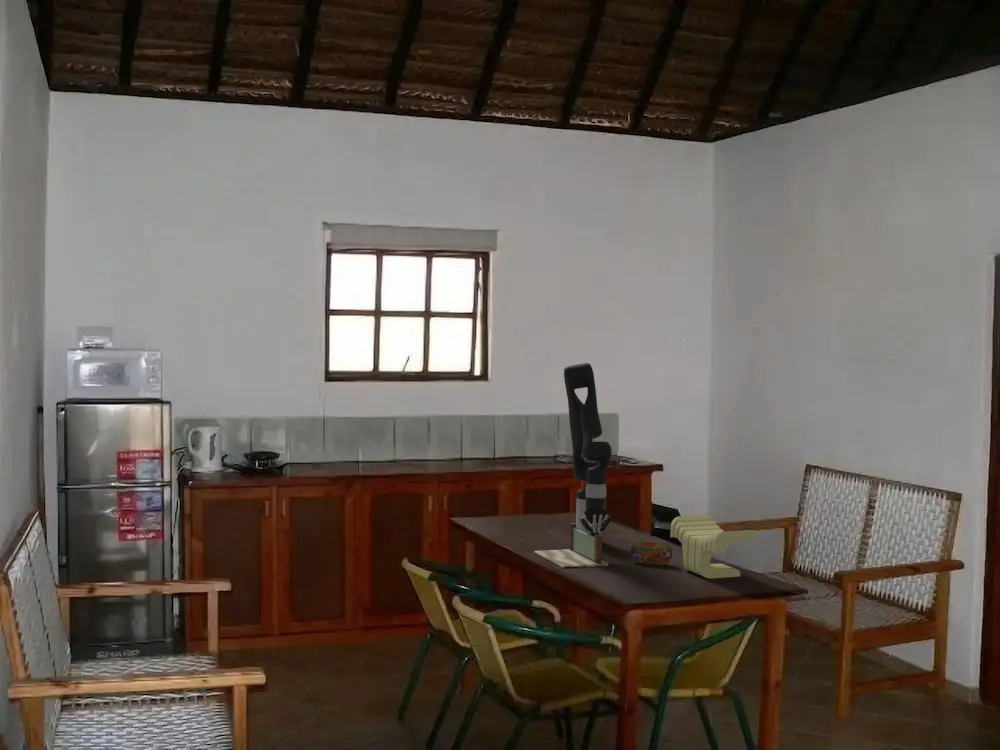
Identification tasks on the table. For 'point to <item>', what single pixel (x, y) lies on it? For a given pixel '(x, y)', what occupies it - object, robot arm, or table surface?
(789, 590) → the table surface
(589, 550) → the gate
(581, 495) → the robot arm
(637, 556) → the tin
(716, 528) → the pale yellow c-shaped piece
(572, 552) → the gate frame
